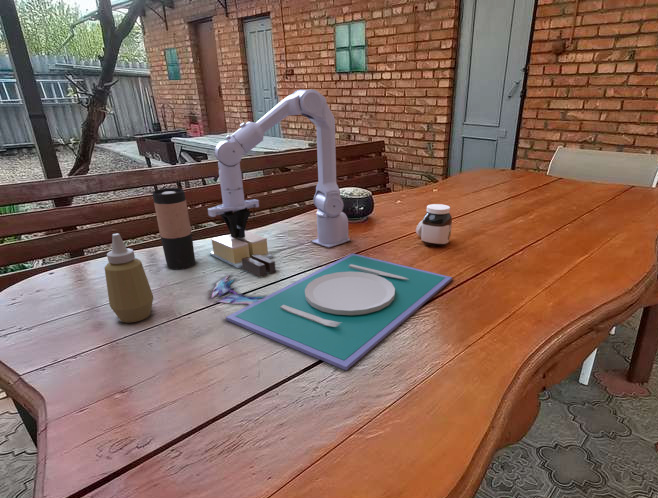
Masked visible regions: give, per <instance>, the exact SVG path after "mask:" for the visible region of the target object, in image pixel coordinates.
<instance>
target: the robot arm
mask: <svg viewBox="0 0 658 498" xmlns="http://www.w3.org/2000/svg"><path fill="white" fill-rule="evenodd" d="M300 115H301V116H303V117H306V118H307V119H308V120H309V121H310V122H311V123H312V124H313V125H315V127H316V128H315V129H316V153H317V154H316V155H317V178H318V179H317V184H316V186H315V194H314V195H313V199H312V200H313V204H314V205H313V206H315V208H316V209H317V211H316V229H317V230H316V231H317V238H316V239H312V240H311V243H314V244H316V245H319V246H322V247H324V248H332V247H336V246H338V245H341V244H345V243H348V242H351V238H350V237H349V218H348V216H347V214H346V212H344V211H343V210H344V201H343V198H342V196H341V190H340V187H339V185H338V184H337V183H338V182H337V155H336V154H337V152H336V149H337V148H336V118H335V116H334V114H333V112H332V111H331V108H330V107H329V105H328V103H327V97H325V96H324V95H323V94H322V93H320V92H319V91H318V90H316V89H311V88H310V89H303V88H302V89H301V88H300V89H297V90H295V91H294V92H292V94H291V93H290V94H289V95H287V96H286V97H284V98H283V99H282V100H280V101H279V102H278V103H277V104H276V105H275V106H274V107H273V108H271V109H270V110H269V111H267V113H265V114H264V115H262V117H260V118H259V119H258V120H257V121H255V122H254V121H247V122H242V123H240V124H239V127H240V128H238V129H237V130H236V131H235V132H233V133H232V134H231V135H229V134H227V135H226V136H225V139H226V140H222V141H219V142H218V143H217V144H216V146H215V148H214V153H213V154H214V157H215V158H216V160H217V168H218V177H219V185H220V192H221V199H222V201H221V202H222V204H218V205H216V206H212V207H209V208H207V214H208V217H211V218H215V217H216V216H220V217H221V219H222V221H224V223H225V225H226V227H227V229H228V231H229V233H230V236H231V237H233V238H238V233H237V225H239V226H241V227H244V230H245V231H246V228H247V224H248V220H249V218H250V216H251V211H250V210H249V209H252V208H259V207H260V200H259V199H255V198H254V199H246V200H245V193H244V185H243V184H244V183H243V176H242V174H243V173H242V170H241V163H240V162H241V161H242V158H243V156H245V155H246V154H248V153H249V152H250V151H252V150H253V149H254V148H255V147H257V146H258V145H259V144H260V143H262V142H263V141H264V136H265V133H266V132H268V131H269V130H270V129H272V128H273V127H275V126H276V125H277V124H279V123H280V122H282V121H283V120H284V119H286V118H287V117H289V116H300Z"/></svg>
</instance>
